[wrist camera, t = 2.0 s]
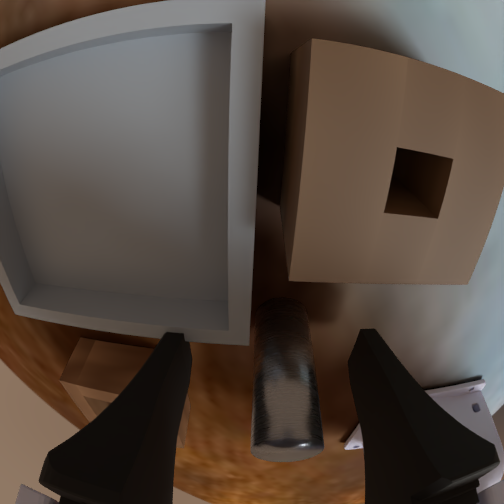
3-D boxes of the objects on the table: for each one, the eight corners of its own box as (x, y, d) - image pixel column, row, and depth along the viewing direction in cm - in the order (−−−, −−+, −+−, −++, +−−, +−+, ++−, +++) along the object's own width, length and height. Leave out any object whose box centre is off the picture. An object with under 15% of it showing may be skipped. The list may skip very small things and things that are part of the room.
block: (439, 83, 8) (520, 102, 4) (414, 217, 10) (467, 284, 7) (290, 53, 8) (312, 38, 4) (279, 206, 10) (288, 281, 7)
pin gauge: (311, 298, 12) (332, 436, 7) (303, 335, 14) (315, 460, 8) (256, 296, 12) (252, 437, 7) (254, 334, 14) (249, 461, 8)
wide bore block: (178, 351, 14) (166, 402, 12) (190, 406, 17) (183, 448, 15) (80, 337, 14) (59, 380, 12) (109, 393, 17) (96, 430, 15)
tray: (264, 15, 7) (265, -3, 5) (251, 302, 13) (249, 345, 11) (-6, 65, 7) (-47, 74, 5) (38, 283, 13) (15, 314, 11)
